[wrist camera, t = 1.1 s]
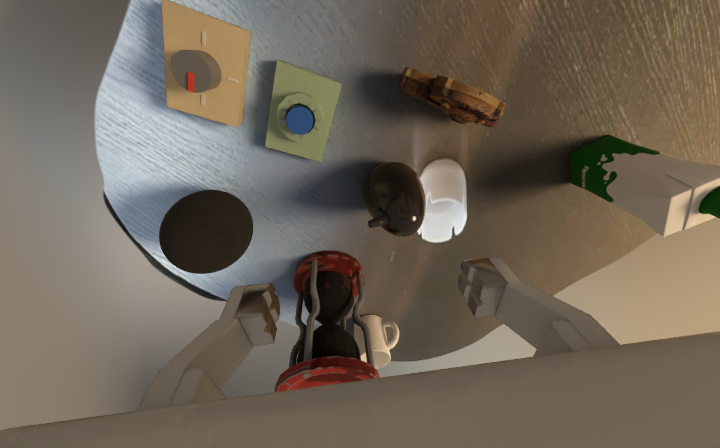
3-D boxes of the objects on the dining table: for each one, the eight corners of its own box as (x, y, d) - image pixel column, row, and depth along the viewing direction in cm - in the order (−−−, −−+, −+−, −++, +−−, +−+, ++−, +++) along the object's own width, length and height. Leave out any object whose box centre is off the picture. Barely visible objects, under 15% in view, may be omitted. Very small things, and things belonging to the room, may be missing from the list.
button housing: (279, 59, 36) (274, 60, 33) (341, 82, 38) (342, 85, 35) (267, 142, 42) (262, 150, 39) (321, 158, 44) (321, 166, 41)
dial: (184, 44, 32) (167, 43, 29) (222, 57, 33) (211, 58, 30) (184, 83, 34) (170, 86, 31) (220, 94, 35) (210, 98, 32)
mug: (387, 303, 67) (396, 340, 59) (400, 320, 71) (410, 356, 63) (347, 321, 69) (350, 358, 61) (362, 335, 74) (366, 373, 65)
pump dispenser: (359, 155, 45) (370, 195, 32) (417, 154, 46) (451, 193, 33) (358, 206, 50) (367, 258, 38) (410, 205, 51) (437, 254, 39)
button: (290, 101, 36) (288, 103, 35) (315, 110, 37) (315, 112, 35) (285, 127, 38) (283, 130, 36) (310, 134, 39) (309, 138, 37)
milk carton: (612, 167, 51) (749, 222, 34) (565, 189, 53) (673, 251, 36) (614, 127, 46) (772, 168, 30) (562, 152, 48) (684, 204, 32)
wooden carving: (387, 97, 40) (402, 108, 32) (398, 63, 38) (417, 66, 30) (478, 124, 44) (513, 141, 36) (493, 95, 42) (533, 106, 33)
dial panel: (174, 2, 32) (160, -3, 29) (250, 31, 34) (244, 29, 32) (177, 103, 38) (166, 107, 35) (242, 122, 40) (236, 127, 38)
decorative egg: (244, 243, 53) (218, 303, 40) (179, 215, 48) (126, 272, 35) (273, 199, 48) (252, 251, 35) (203, 162, 43) (151, 207, 30)
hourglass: (373, 287, 63) (395, 402, 43) (314, 308, 65) (306, 427, 45) (347, 240, 55) (358, 355, 34) (280, 265, 57) (251, 389, 36)
